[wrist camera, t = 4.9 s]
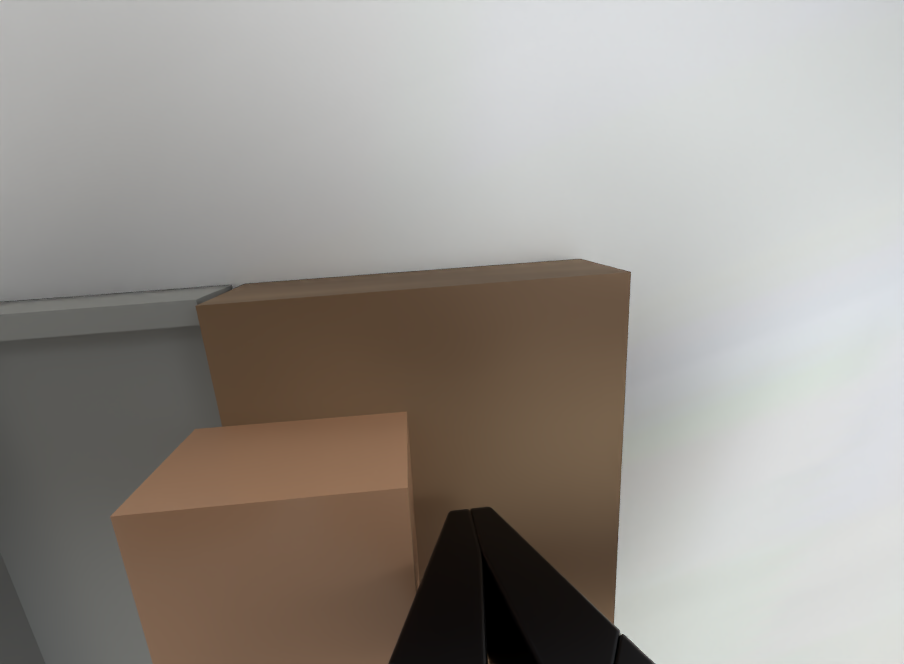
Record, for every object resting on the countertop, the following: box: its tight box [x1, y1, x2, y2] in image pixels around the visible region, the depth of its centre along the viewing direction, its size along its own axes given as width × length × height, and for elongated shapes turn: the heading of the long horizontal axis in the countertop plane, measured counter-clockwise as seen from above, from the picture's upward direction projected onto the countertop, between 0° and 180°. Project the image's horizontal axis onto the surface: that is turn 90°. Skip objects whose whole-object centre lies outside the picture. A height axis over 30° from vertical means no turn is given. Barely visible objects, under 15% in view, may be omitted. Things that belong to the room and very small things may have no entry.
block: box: [110, 412, 419, 664], centre depth 8 cm, size 4×4×2 cm
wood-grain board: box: [195, 259, 631, 664], centre depth 11 cm, size 15×8×2 cm, turn 3°
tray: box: [0, 285, 232, 664], centre depth 11 cm, size 15×7×2 cm, turn 3°
